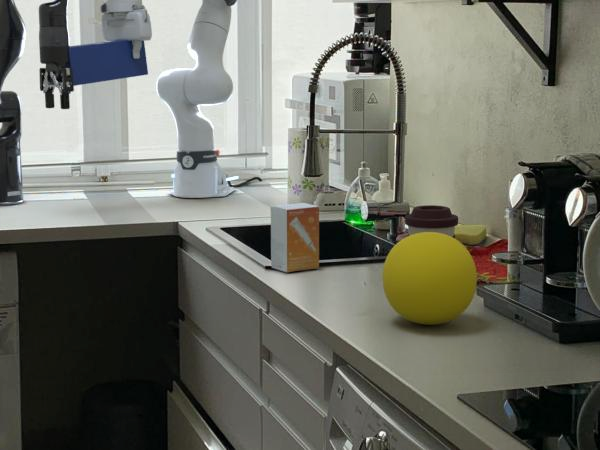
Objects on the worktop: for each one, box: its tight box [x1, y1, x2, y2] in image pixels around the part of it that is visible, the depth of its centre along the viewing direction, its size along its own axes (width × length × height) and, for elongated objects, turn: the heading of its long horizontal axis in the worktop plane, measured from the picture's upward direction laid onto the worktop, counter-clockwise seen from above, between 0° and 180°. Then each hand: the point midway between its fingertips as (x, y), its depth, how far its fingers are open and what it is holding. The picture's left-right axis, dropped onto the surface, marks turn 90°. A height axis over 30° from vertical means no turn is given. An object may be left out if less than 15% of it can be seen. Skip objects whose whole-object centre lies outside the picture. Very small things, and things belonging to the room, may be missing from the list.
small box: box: [270, 202, 320, 273], centre depth 214 cm, size 8×6×13 cm
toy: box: [381, 232, 478, 326], centre depth 170 cm, size 15×15×15 cm
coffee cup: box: [404, 204, 459, 239], centre depth 197 cm, size 10×10×15 cm
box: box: [65, 40, 149, 87], centre depth 276 cm, size 22×6×10 cm, turn 129°
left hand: (57, 108), depth 270 cm, fingers open, 8 cm apart
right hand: (128, 58), depth 281 cm, fingers closed on box, 6 cm apart
